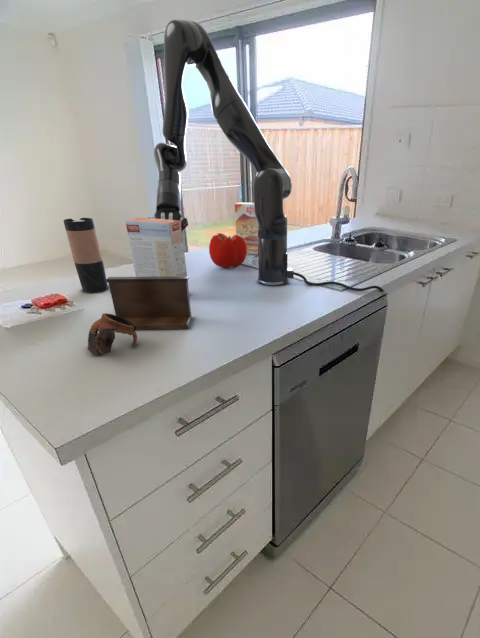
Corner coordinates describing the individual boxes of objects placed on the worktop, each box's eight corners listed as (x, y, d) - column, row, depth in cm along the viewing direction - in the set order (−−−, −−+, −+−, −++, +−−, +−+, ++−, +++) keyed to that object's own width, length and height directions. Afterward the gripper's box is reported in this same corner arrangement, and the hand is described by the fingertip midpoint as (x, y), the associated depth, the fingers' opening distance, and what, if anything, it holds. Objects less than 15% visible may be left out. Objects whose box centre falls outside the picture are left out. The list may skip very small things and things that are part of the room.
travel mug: (99, 294, 110) (81, 222, 100) (76, 292, 111) (56, 220, 101) (114, 286, 116) (98, 218, 106) (92, 284, 118) (75, 217, 107)
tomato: (204, 269, 135) (201, 235, 129) (223, 260, 147) (221, 229, 141) (236, 273, 131) (234, 238, 125) (253, 264, 143) (253, 232, 137)
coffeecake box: (236, 253, 157) (234, 203, 147) (240, 250, 163) (238, 201, 153) (270, 255, 155) (270, 204, 145) (273, 251, 161) (274, 203, 151)
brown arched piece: (90, 342, 83) (102, 308, 81) (132, 358, 85) (145, 325, 84) (72, 354, 71) (86, 314, 70) (122, 371, 74) (136, 333, 73)
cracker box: (190, 294, 111) (181, 219, 100) (179, 300, 106) (168, 222, 95) (150, 289, 115) (138, 216, 104) (138, 294, 110) (124, 219, 99)
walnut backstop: (192, 318, 95) (188, 276, 89) (189, 328, 89) (183, 284, 83) (118, 319, 93) (108, 276, 88) (109, 330, 87) (98, 285, 82)
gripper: (144, 190, 116) (142, 238, 112) (187, 190, 117) (186, 238, 113) (151, 206, 123) (149, 252, 119) (191, 207, 124) (190, 252, 120)
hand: (167, 245), depth 116 cm, fingers closed
